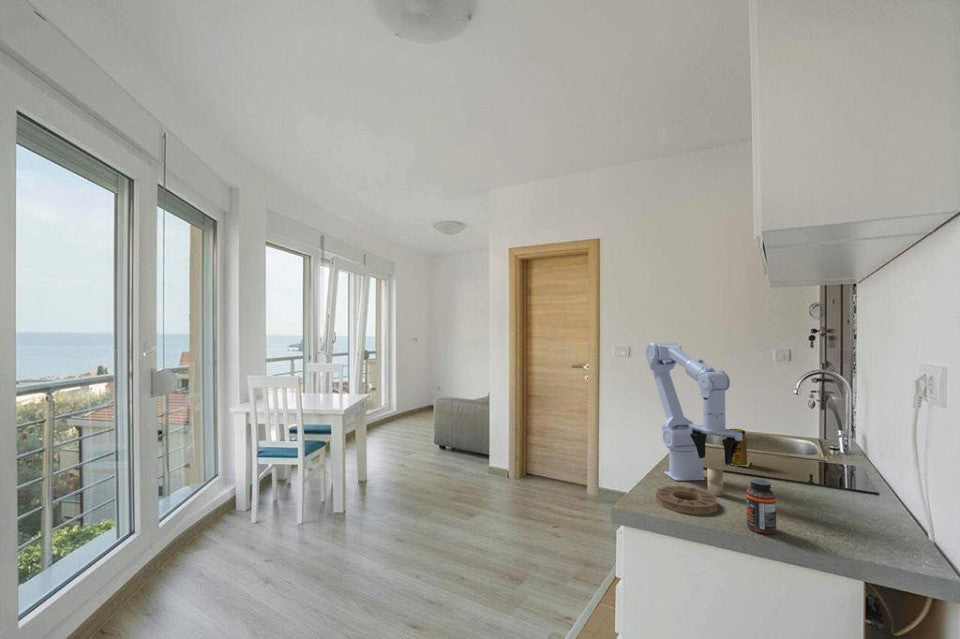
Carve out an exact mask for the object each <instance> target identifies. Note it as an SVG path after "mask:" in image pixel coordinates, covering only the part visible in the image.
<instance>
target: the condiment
mask: <svg viewBox="0 0 960 639" xmlns="http://www.w3.org/2000/svg"><path fill="white" fill-rule="evenodd" d="M727 429H728V430H732V431H736V432H740V433H742V440H740V443H739V444H738V446H737V448H736V450H735V452H734V455H733V459H732V463H731V464H733V465H746V464H747V462H748V446H747V445H748V441H747V438H746V431H745V430H744V429H740V428H727Z"/></svg>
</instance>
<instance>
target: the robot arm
mask: <svg viewBox="0 0 960 639" xmlns="http://www.w3.org/2000/svg"><path fill="white" fill-rule="evenodd" d="M645 357H646V361H647V362H648V363H647V364H648V368H649V369H650V371H651V372H652V376H653V378H654V379H653V380H654V382H655V386H656V389H657V391H658V395H659V399H660V401H661V404H662V408H663V411H664V414H665V417H666V421H665V422H664V423H663V424H662V426H661V430H662V440H663V441H662V442H663V443H664V445H665V446H666V448H667V449H668V460H669V461H668V462H669V464H668V466H669V469H668V470H669V471H665V470H664V471H663V473H664V474H665V475H666V476H668V477H669V478H671V479H673V480H674V481H677V482H678V481H681V482H682V481H684V482H685V481H704V480H706V479H705V477H704V458H706V443H707V442H706V440H707V436H708V435H709V436H710V435H711V436H715V437H720V438H724V439H722V440H721V441H722V445H723V450H724V465H725V464H726V465H727V466H730V465H729V464H731V463H732V459H733V455H734V452H735V450H736V448H737V446H738V444H739V443H740V440H742V433H740V432H736V431H732V430H728V429H729V428H726V427H727V426H726V424H727V422H726V391H728V389H729V388H730V385H731V384H730V383H731V381H730V378H729V377H730V376H729V375H728V374H727V373H726V372H725V371H724V370H715V369H714V367H712V366H709V365H708V364H706V363H705V362H704V360H703V359H702V358H692V357H691V356H690V355H689V354H688V353H686V352H685V351H684V350H683V349H682V346H681V345H680V344H679V343H678V342H674V341H673V342H650V343H649V344H648V345H647V346H646V351H645ZM677 364H679V365H680V366H682V367H684V370H685V374H687V375H688V376H689V377H691V378H692V379H693V380H694V381H696V382H697V385H698V388H699V390H700V395H701V398H702V414H703V416H702V424H694V422H693V421H692V420H690V419H688V418H687V417H686V416H685V415H684V413H683V409H682V407H681V406H682V405H681V403H680V400H679V397H678V395H677V392H676V388H675V386H674V385H675V384H674V383H673V379H672V376H671V373H670V372H671V370H673V369H674V368H675V366H676V365H677Z"/></svg>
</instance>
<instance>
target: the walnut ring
mask: <svg viewBox="0 0 960 639" xmlns="http://www.w3.org/2000/svg"><path fill="white" fill-rule="evenodd" d="M655 501H656V502H657V503H658V504H659V505H660V506H661V507H662V508H665V509H668V510H670V511H673V512H676V513H682V514H687V515H688V514H689V515H710V514H713V513H715V512H717V511H719V510H718V509H719V505H718V504H719V503H718V502H719V501H718V496H714V495H712V494H711V493H709V492H708V491H707V490H702V489H700V488H699V489H698V488H696V487H691V486H690V487H689V486H684V485H683V486H682V485H668V486H663V487H659V488H657V489H656V492H655Z"/></svg>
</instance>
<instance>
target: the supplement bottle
mask: <svg viewBox="0 0 960 639" xmlns="http://www.w3.org/2000/svg"><path fill="white" fill-rule="evenodd" d="M771 484H772V483H771V482H770V481H768V480H766V479H761V478H753V479H751V480H750V487H748V488H747V489H746V494H745V495H746V496H745V497H746V498H745V499H746V501H745V503H746V504H745V505H746V525H747V528H748V529H749V530H751V531H752V532H755V533H758V534H763V535H773V534H775V533H776V532H777V503H776V502H777V498H776V497H777V496H776V493H775V492H774V491H773V490H771V489H772V486H771Z"/></svg>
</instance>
